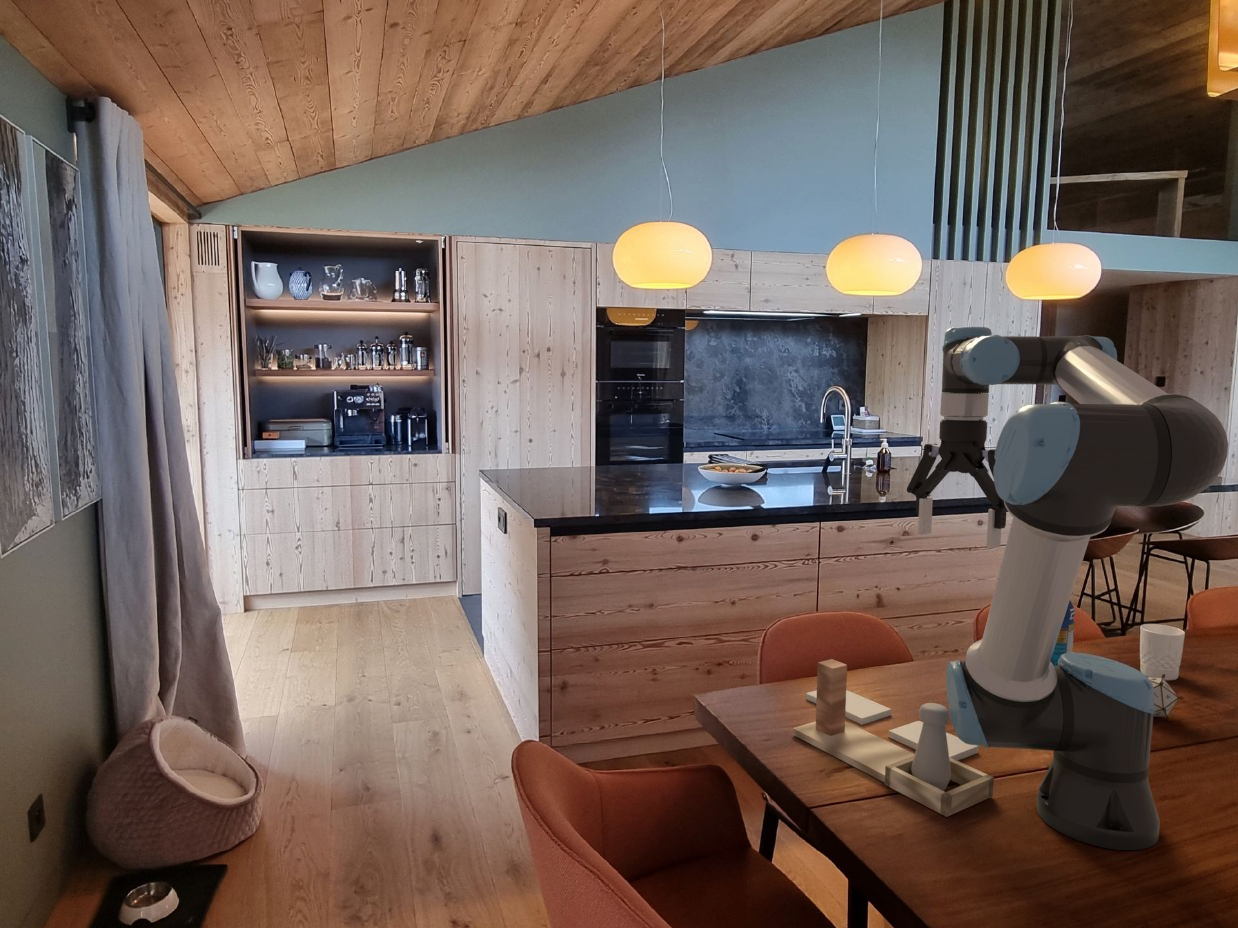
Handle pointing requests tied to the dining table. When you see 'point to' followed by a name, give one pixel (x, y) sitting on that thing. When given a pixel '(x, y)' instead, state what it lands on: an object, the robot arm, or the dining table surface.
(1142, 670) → the white cup
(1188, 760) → the dining table surface
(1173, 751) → the dining table surface
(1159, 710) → the game die
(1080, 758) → the robot arm
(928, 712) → the salt shaker
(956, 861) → the dining table surface
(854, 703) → the broken strip
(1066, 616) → the beverage bottle
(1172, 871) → the dining table surface
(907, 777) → the wooden tray with post
